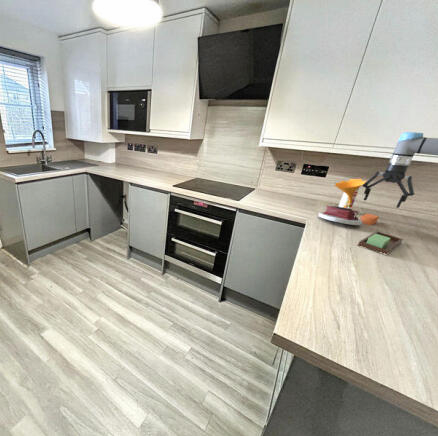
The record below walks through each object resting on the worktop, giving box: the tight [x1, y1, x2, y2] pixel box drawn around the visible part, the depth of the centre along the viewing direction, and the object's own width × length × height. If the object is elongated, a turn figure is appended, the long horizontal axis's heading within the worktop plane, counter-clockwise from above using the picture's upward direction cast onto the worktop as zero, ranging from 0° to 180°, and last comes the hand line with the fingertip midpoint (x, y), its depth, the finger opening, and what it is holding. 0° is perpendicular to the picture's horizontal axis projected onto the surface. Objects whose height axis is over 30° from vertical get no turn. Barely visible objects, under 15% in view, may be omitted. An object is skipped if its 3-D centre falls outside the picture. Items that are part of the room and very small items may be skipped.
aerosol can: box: [337, 187, 360, 209], centre depth 156 cm, size 7×7×20 cm
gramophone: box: [318, 178, 367, 226], centre depth 136 cm, size 20×20×25 cm
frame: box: [357, 231, 404, 255], centre depth 114 cm, size 10×25×2 cm, turn 123°
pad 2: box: [366, 234, 391, 248], centre depth 110 cm, size 10×6×4 cm, turn 123°
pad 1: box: [359, 213, 380, 226], centre depth 142 cm, size 10×6×4 cm, turn 123°
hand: (380, 203), depth 128 cm, fingers open, 13 cm apart
